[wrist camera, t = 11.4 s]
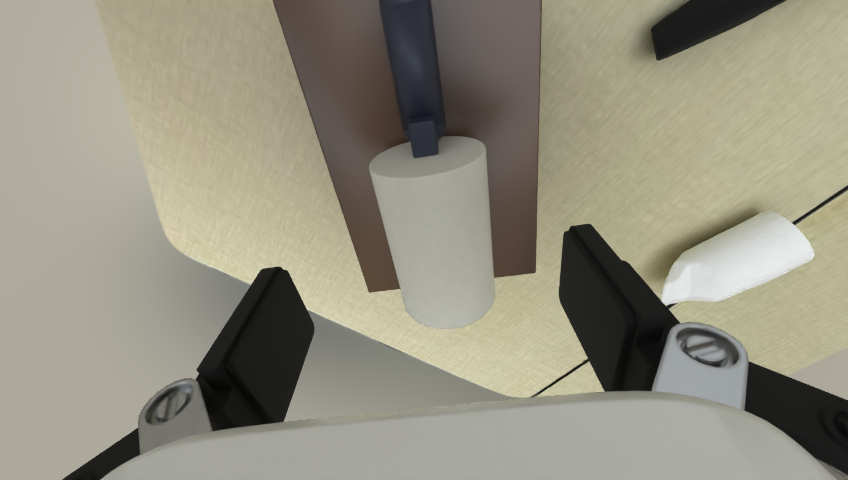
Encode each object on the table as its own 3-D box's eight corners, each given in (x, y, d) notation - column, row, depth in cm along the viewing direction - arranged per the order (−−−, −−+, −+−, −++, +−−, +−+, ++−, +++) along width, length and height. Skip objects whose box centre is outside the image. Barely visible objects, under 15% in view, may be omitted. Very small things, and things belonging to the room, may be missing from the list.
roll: (631, 262, 36) (662, 297, 31) (756, 200, 32) (812, 230, 27) (650, 295, 39) (681, 332, 34) (767, 241, 35) (821, 275, 30)
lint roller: (488, 262, 23) (502, 324, 18) (407, 271, 23) (400, 333, 19) (466, -39, 14) (482, -70, 10) (340, -12, 15) (296, -29, 10)
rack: (385, 219, 34) (368, 292, 24) (329, 4, 24) (268, -10, 15) (505, 203, 33) (536, 273, 23) (497, -30, 23) (543, -69, 14)
